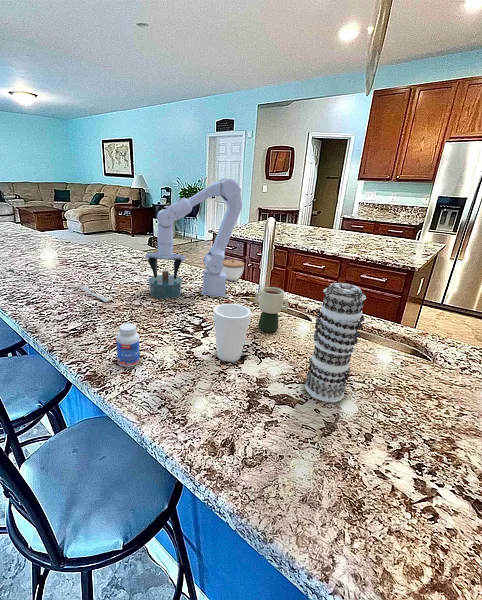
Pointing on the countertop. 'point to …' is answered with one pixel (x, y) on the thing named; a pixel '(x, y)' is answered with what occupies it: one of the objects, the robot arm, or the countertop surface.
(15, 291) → the countertop surface
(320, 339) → the leaning tower model
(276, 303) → the character mug
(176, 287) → the bowl
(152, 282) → the lid
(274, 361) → the countertop surface
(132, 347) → the pill bottle
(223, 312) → the foam cup
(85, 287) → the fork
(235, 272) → the trinket box
